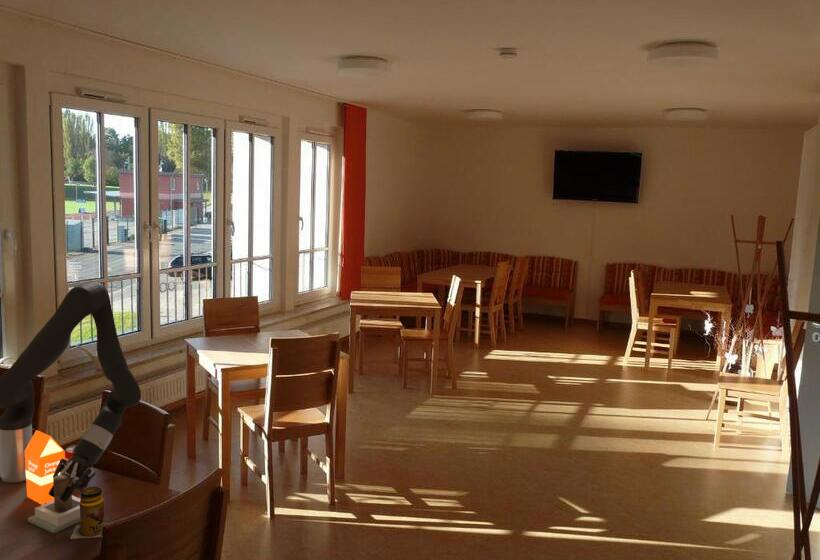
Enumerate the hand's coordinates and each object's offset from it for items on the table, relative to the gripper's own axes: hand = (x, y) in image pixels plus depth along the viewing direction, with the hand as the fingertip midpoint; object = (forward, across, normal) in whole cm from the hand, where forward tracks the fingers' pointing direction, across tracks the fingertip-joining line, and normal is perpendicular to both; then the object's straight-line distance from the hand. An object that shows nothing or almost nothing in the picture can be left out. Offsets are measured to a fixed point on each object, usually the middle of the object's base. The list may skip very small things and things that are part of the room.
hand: (56, 498), depth 198 cm
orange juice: (0, -16, +10) cm, 19 cm away
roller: (+2, 0, +4) cm, 5 cm away
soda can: (-7, -16, +17) cm, 24 cm away
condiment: (+4, +13, +5) cm, 15 cm away
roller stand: (+3, 0, +6) cm, 7 cm away
